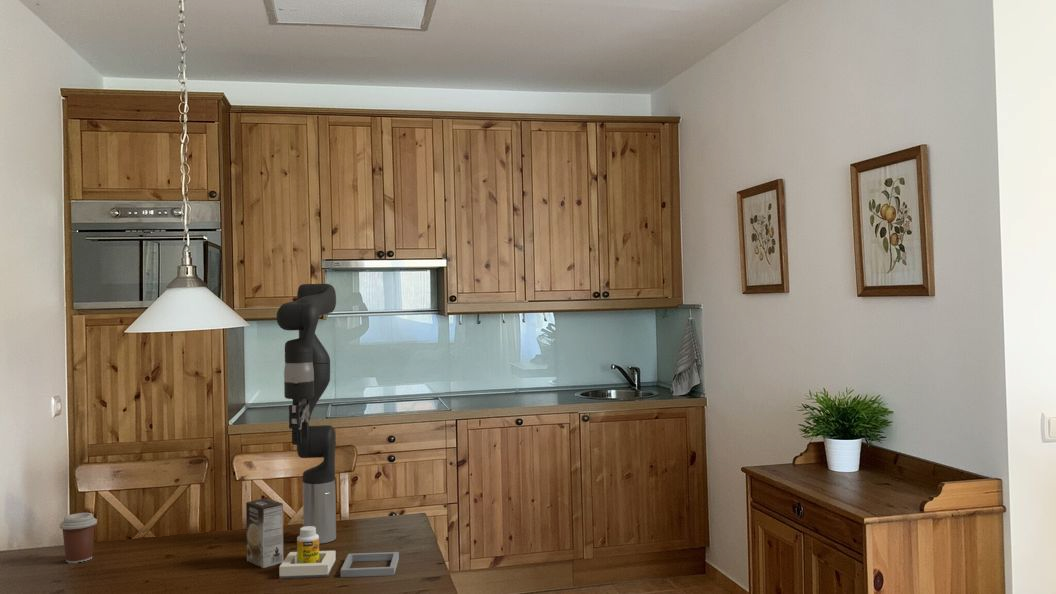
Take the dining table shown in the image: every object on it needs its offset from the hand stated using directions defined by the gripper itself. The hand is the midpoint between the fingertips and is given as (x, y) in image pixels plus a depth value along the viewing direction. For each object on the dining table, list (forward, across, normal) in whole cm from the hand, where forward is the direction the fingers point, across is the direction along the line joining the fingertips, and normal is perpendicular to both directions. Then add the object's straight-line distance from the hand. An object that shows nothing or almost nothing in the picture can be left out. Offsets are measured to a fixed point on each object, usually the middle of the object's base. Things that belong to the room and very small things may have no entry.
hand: (300, 441), depth 216 cm
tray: (+33, +2, +18) cm, 38 cm away
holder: (+33, +2, +2) cm, 33 cm away
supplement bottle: (+33, +2, +2) cm, 33 cm away
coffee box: (+33, -6, -11) cm, 36 cm away
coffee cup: (+33, -14, -63) cm, 73 cm away
